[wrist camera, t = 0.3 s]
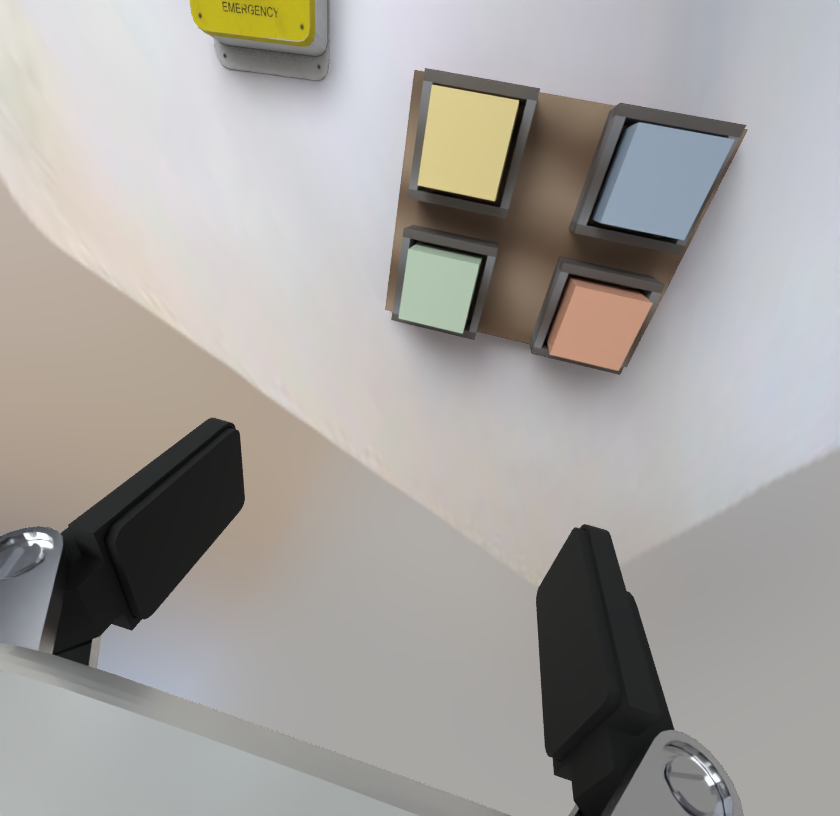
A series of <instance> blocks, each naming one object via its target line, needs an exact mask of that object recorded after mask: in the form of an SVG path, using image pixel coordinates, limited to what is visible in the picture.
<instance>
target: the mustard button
mask: <svg viewBox="0 0 840 816" xmlns="http://www.w3.org/2000/svg"><path fill="white" fill-rule="evenodd" d="M518 109H519V100H514V99H509V98H503V97H498V96H492V95H487V94H481V93H476V92H470V91H465V90H459V89H454V88H448V87H443V86H437V85H432V88H431V95H430V102H429V109H428V116H427V122H426V129H425V136H424V143H423V150H422V157H421V164H420V171H419V178H418V186H423V187H428V188H433V189H438V190H443V191H447V192H452V193H457V194H462V195H467V196H472V197H477V198H481V199H486V200H491V201H495V200H496V199H497V196H498V192H499V188H500V183H501V179H502V175H503V171H504V167H505V163H506V159H507V155H508V151H509V147H510V142H511V138H512V134H513V130H514V126H515V122H516V118H517V114H518Z"/></svg>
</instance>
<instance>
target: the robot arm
mask: <svg viewBox="0 0 840 816" xmlns="http://www.w3.org/2000/svg"><path fill="white" fill-rule="evenodd" d="M244 501H245V494H244V481H243V469H242V457H241V443H240V433H239V431H238V430H236V429H235V426H234V424H233V423H230V422H226V421H223V420H220V419H216V418H210V419H208V420H207V421H205V422H204V423H202V424H201V425H200V426H198V427H197V428H196V429H194V430H193V431H192V432H190V433H189V434H188V435H187V436H185V437H184V438H182V439H181V440H180V441H178V442H177V443H176V444H175V445H173V446H172V447H171V448H169V449H168V450H167V451H165V452H164V453H163V454H161V455H160V456H159V457H157V458H156V459H155V460H153V461H152V462H151V463H149V464H148V465H147V466H145V467H144V468H143V469H141V470H140V471H139V472H138V473H136V474H135V475H134V476H132V477H131V478H130V479H128V480H127V481H126V482H124V483H123V484H122V485H120V486H119V487H118V488H116V489H115V490H114V491H113V492H111V493H110V494H108V495H107V496H106V497H104V498H103V499H102V500H101V501H99V502H98V503H97V504H95V505H94V506H93V507H91V508H90V509H89V510H87V511H86V512H85V513H84V514H82V515H81V516H79V517H78V518H77V519H76V520H74V521H73V522H71V523H70V524H69V525H68V526H69V527H68V528H67V529H65V530H64V531H63V532H62V533H59V531H57V530H55V529H52V528H50V527H40V526H37V527H28V528H23V529H19V530H15V531H12V532H9V533H7V534H4V535H2V536H0V816H510V815H508V814H505V813H502V812H500V811H497V810H494V809H492V808H489V807H486V806H484V805H481V804H479V803H476V802H474V801H471V800H468V799H465V798H463V797H460V796H457V795H454V794H451V793H449V792H446V791H443V790H440V789H437V788H435V787H432V786H429V785H426V784H424V783H421V782H418V781H415V780H412V779H410V778H407V777H404V776H401V775H398V774H395V773H393V772H390V771H387V770H385V769H382V768H379V767H376V766H373V765H371V764H368V763H365V762H362V761H360V760H356V759H354V758H351V757H348V756H345V755H343V754H340V753H337V752H334V751H331V750H328V749H325V748H323V747H320V746H317V745H314V744H312V743H308V742H306V741H303V740H300V739H297V738H294V737H291V736H289V735H286V734H283V733H280V732H278V731H275V730H272V729H269V728H266V727H263V726H260V725H258V724H255V723H252V722H249V721H246V720H244V719H241V718H238V717H235V716H232V715H229V714H226V713H224V712H221V711H218V710H215V709H212V708H209V707H206V706H203V705H201V704H198V703H195V702H192V701H189V700H186V699H183V698H181V697H178V696H175V695H172V694H169V693H166V692H163V691H160V690H158V689H155V688H152V687H149V686H146V685H143V684H140V683H137V682H135V681H132V680H129V679H126V678H123V677H120V676H117V675H114V674H111V673H108V672H105V671H102V670H99V669H97V664H98V656H99V648H100V640H101V634H102V633H103V632H104V631H105V630H106V629H107V628H108V627H109V626H110V625H111V624H114V625H117V626H120V627H123V628H126V629H129V630H133V629H134V628H135V627H136V625H137V624H138V623H139V622H140V620H142V619H147V618H149V617H150V616H151V615H152V614H153V613H154V612H155V611H156V610H157V609H158V607H159V606H160V605H161V604H162V603H163V601H164V600H165V599H166V598H167V597H168V596H169V594H170V593H171V592H172V591H173V590H174V588H175V587H176V586H177V585H178V584H179V583H180V581H181V580H182V579H183V578H184V577H185V575H186V574H187V573H188V572H189V571H190V569H191V568H192V567H193V566H194V564H196V562H197V561H198V560H199V559H200V558H201V556H202V555H203V554H204V553H205V552H206V551H207V549H208V548H209V547H210V546H211V545H212V543H213V542H214V541H215V540H216V539H217V537H218V536H219V535H220V534H221V533H222V532H223V530H224V529H225V528H226V527H227V526H228V524H229V523H230V522H231V521H232V520H233V519H234V517H235V516H236V515H237V514H238V513H239V511H240V510H241V509H242V507H243V504H244ZM536 607H537V623H538V639H539V656H540V673H541V688H542V706H543V723H544V739H545V749H546V753H547V755H548V756H549V757H552V758H553V767H554V775H556V776H559V777H562V778H564V779H568V780H570V781H572V789H573V798H574V801H575V803H576V805H575V806H574V808H573V809H572V811H571V813H570V814H569V816H744V815H743V810H742V806H741V801H740V798H739V796H738V794H737V791H736V789H735V787H734V784H733V783H732V781H731V779H730V778H729V776H728V774H727V773H726V771H725V770H724V768H723V766H722V765H721V764H720V763H719V762H718V760H717V759H716V758H715V757H714V756H713V755H712V753H711V752H710V751H709V750H708V749H706V748H705V747H704V746H703V745H702V744H701V743H699V742H698V741H697V740H696V739H694V738H692V737H690V736H688V735H687V734H685V733H683V732H679V731H675V730H674V727H673V724H672V721H671V717H670V714H669V711H668V707H667V704H666V701H665V697H664V694H663V691H662V687H661V684H660V681H659V677H658V674H657V671H656V667H655V664H654V661H653V658H652V654H651V651H650V648H649V644H648V641H647V638H646V634H645V631H644V628H643V624H642V621H641V618H640V615H639V611H638V608H637V605H636V602H635V600H634V597H633V596H632V595H631V594H630V592H627V591H626V588H625V585H624V581H623V578H622V574H621V571H620V567H619V564H618V560H617V557H616V553H615V550H614V546H613V543H612V539H611V536H610V533H609V532H608V531H607V530H604V529H600V528H597V527H593V526H590V525H586V524H584V525H582V526H581V527H580V528H574V529H573V530H572V532H571V533H570V535H569V537H568V538H567V540H566V542H565V544H564V545H563V547H562V549H561V550H560V552H559V554H558V556H557V557H556V559H555V561H554V562H553V564H552V566H551V568H550V569H549V571H548V573H547V574H546V576H545V578H544V580H543V581H542V583H541V585H540V586H539V588H538V592H537V597H536Z"/></svg>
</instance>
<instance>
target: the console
mask: <svg viewBox="0 0 840 816" xmlns="http://www.w3.org/2000/svg"><path fill="white" fill-rule="evenodd" d="M432 85H437V86H443V87H448V88H454V89H459V90H465V91H470V92H476V93H481V94H487V95H492V96H498V97H503V98H509V99H514V100H519V109H518V114H517V118H516V122H515V126H514V130H513V134H512V138H511V142H510V147H509V151H508V155H507V159H506V163H505V167H504V171H503V175H502V179H501V183H500V188H499V192H498V196H497V199H496V200H495V201H491V200H486V199H481V198H477V197H472V196H467V195H462V194H457V193H452V192H447V191H443V190H438V189H433V188H428V187H423V186H418V178H419V171H420V164H421V157H422V150H423V143H424V136H425V129H426V122H427V116H428V109H429V102H430V95H431V88H432ZM539 91H540V88H534V87H528V86H523V85H517V84H512V83H506V82H500V81H495V80H489V79H483V78H478V77H472V76H467V75H461V74H455V73H450V72H444V71H439V70H433V69H427V68H425V72H423V71H418V70H415V71H414V79H413V87H412V95H411V103H410V112H409V120H408V128H407V136H406V144H405V152H404V161H403V169H402V177H401V185H400V193H399V201H398V209H397V218H396V226H395V234H394V242H393V250H392V258H391V266H390V275H389V283H388V291H387V299H386V307H385V310H389V311H393V312H392V319H391V320H394V321H398V322H402V323H406V324H411V325H415V326H419V327H423V328H427V329H431V330H436V331H440V332H444V333H448V334H452V335H456V336H461V337H465V338H469V339H473V340H474V339H475V335H476V331H477V332H481V333H485V334H490V335H494V336H498V337H502V338H506V339H511V340H515V341H519V342H523V343H528V344H530V345H531V353H532V354H536V355H540V356H544V357H548V358H552V359H557V360H561V361H565V362H569V363H573V364H578V365H582V366H586V367H590V368H594V369H598V370H603V371H607V372H611V373H615V374H619V375H620V374H621V372H622V370H623V368H624V367H627V365H628V363H629V361H630V359H631V357H632V355H633V353H634V351H635V349H636V347H637V346H638V344H639V342H640V340H641V338H642V336H643V334H644V332H645V330H646V328H647V326H648V324H649V322H650V320H651V318H652V316H653V314H654V312H655V310H656V308H657V306H658V304H659V302H660V300H661V299H662V297H663V295H664V293H665V291H666V289H667V287H668V285H669V283H670V281H671V279H672V277H673V275H674V273H675V271H676V269H677V267H678V265H679V263H680V261H681V259H682V257H683V255H684V254H685V252H686V250H687V248H688V246H689V244H690V242H691V240H692V238H693V236H694V234H695V232H696V230H697V228H698V226H699V224H700V222H701V220H702V218H703V216H704V214H705V212H706V210H707V209H708V207H709V205H710V203H711V201H712V199H713V197H714V195H715V193H716V191H717V189H718V187H719V185H720V183H721V181H722V179H723V177H724V175H725V173H726V171H727V169H728V167H729V165H730V164H731V162H732V160H733V158H734V156H735V154H736V152H737V150H738V148H739V146H740V144H741V142H742V140H743V138H744V136H745V134H746V132H747V129H745V127H746V125H742V124H736V123H731V122H725V121H720V120H714V119H708V118H703V117H697V116H691V115H686V114H680V113H675V112H669V111H663V110H658V109H652V108H646V107H641V106H635V105H630V104H624V103H619V104H618V105H617V106H613V105H608V104H602V103H596V102H591V101H585V100H580V99H574V98H568V97H563V96H557V95H552V94H546V93H541V92H539ZM638 122H641V123H646V124H652V125H657V126H663V127H668V128H674V129H679V130H685V131H691V132H696V133H702V134H707V135H713V136H718V137H724V138H729V139H735V140H734V142H733V144H732V146H731V148H730V150H729V152H728V154H727V156H726V158H725V160H724V162H723V164H722V166H721V168H720V170H719V172H718V174H717V176H716V178H715V180H714V182H713V184H712V186H711V188H710V190H709V192H708V194H707V196H706V198H705V200H704V202H703V204H702V206H701V208H700V210H699V212H698V214H697V216H696V218H695V220H694V222H693V224H692V226H691V228H690V230H689V232H688V234H687V236H686V238H685V240H680V239H675V238H671V237H666V236H661V235H656V234H651V233H646V232H641V231H637V230H632V229H627V228H622V227H617V226H612V225H608V224H603V223H599V222H597V221H595V220H593V219H591V217H592V214H593V212H594V209H595V206H596V204H597V201H598V198H599V195H600V193H601V190H602V187H603V185H604V182H605V179H606V177H607V174H608V171H609V168H610V166H611V163H612V160H613V158H614V155H615V152H616V149H617V147H618V144H619V141H620V139H621V136H622V133H623V131H624V129H626V128H628V127H630V126H632V125H634V124H636V123H638ZM417 243H422V244H426V245H431V246H435V247H440V248H444V249H449V250H454V251H458V252H463V253H467V254H472V255H476V256H481V257H482V261H481V265H480V270H479V274H478V278H477V282H476V286H475V290H474V294H473V298H472V302H471V306H470V311H469V315H468V319H467V322H466V325H465V328H464V331H463V334H462V333H457V332H453V331H449V330H445V329H441V328H436V327H432V326H428V325H424V324H420V323H416V322H411V321H407V320H403V319H399V311H400V304H401V297H402V290H403V283H404V276H405V269H406V262H407V255H408V249H409V248H411V247H412V246H414V245H416V244H417ZM570 276H572V277H576V278H581V279H586V280H590V281H595V282H599V283H604V284H608V285H613V286H617V287H622V288H626V289H631V290H636V291H639V292H640V293H641V294H643V295H644V296H645V297H646V298H647V299H648V300H650V301H651V302H652V303H653V304H652V306H651V308H650V310H649V312H648V314H647V316H646V318H645V320H644V322H643V324H642V326H641V328H640V330H639V332H638V334H637V336H636V338H635V340H634V342H633V344H632V346H631V348H630V350H629V352H628V354H627V356H626V358H625V360H624V362H623V364H622V366H621V367H620V369H619V371H617V370H612V369H608V368H604V367H600V366H596V365H591V364H587V363H583V362H579V361H575V360H570V359H566V358H562V357H558V356H554V355H550V354H549V349H548V344H547V340H546V339H547V336H548V333H549V331H550V328H551V325H552V323H553V320H554V317H555V315H556V312H557V309H558V306H559V304H560V301H561V298H562V296H563V293H564V290H565V287H566V285H567V282H568V279H569V277H570Z"/></svg>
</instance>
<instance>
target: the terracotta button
mask: <svg viewBox="0 0 840 816" xmlns="http://www.w3.org/2000/svg"><path fill="white" fill-rule="evenodd" d="M652 304H653V303H652V302H651V301H650V300H648V299H647V298H646V297H645V296H644V295H643V294H641V293H640V292H639V291H636V290H631V289H626V288H622V287H617V286H613V285H608V284H604V283H599V282H595V281H590V280H586V279H581V278H576V277H572V276H570V277H569V279H568V282H567V285H566V287H565V290H564V293H563V296H562V298H561V301H560V304H559V306H558V309H557V312H556V315H555V317H554V320H553V323H552V325H551V328H550V331H549V333H548V336H547V339H546V340H547V344H548V349H549V354H550V355H554V356H558V357H562V358H566V359H570V360H575V361H579V362H583V363H587V364H591V365H596V366H600V367H604V368H608V369H612V370H617V371H619V369H620V367H621V366H622V364H623V362H624V360H625V358H626V356H627V354H628V352H629V350H630V348H631V346H632V344H633V342H634V340H635V338H636V336H637V334H638V332H639V330H640V328H641V326H642V324H643V322H644V320H645V318H646V316H647V314H648V312H649V310H650V308H651V306H652Z"/></svg>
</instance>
